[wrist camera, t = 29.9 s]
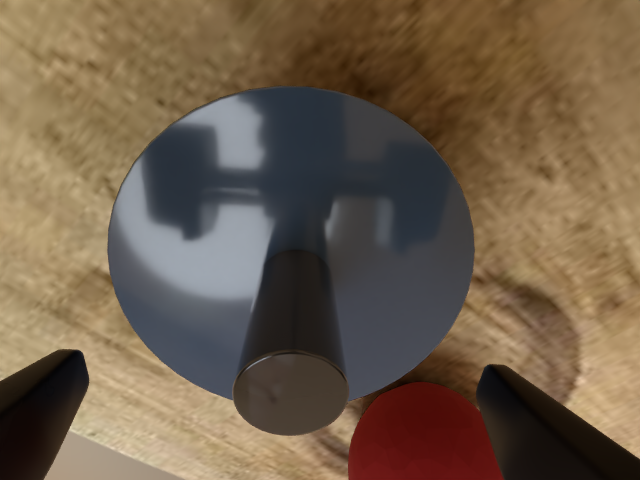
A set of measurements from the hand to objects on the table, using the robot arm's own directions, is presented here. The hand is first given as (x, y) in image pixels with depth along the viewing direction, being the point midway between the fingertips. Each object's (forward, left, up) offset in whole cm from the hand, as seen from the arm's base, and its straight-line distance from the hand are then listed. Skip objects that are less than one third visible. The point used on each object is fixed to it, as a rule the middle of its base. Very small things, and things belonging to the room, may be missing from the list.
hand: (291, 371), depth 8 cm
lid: (0, 0, -4) cm, 4 cm away
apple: (+16, +1, -11) cm, 19 cm away
